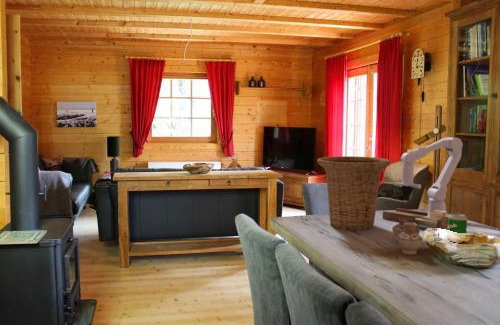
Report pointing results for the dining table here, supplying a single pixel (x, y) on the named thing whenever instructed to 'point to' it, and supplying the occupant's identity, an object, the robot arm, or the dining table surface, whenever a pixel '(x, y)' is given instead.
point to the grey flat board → (423, 226)
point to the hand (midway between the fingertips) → (406, 200)
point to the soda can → (457, 223)
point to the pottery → (407, 235)
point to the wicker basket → (352, 189)
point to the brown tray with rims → (415, 217)
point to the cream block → (437, 215)
